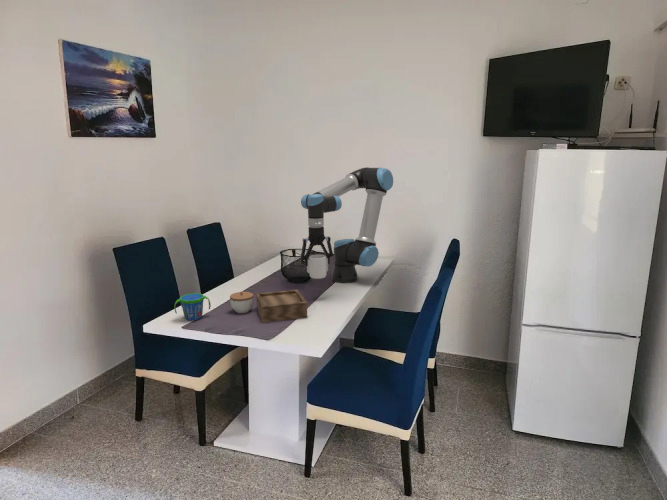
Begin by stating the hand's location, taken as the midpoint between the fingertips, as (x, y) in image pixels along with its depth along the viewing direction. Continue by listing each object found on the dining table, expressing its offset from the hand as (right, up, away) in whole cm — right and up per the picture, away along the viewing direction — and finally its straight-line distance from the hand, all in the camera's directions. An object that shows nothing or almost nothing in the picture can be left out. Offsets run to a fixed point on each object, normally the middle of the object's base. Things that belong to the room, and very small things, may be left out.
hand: (317, 271), depth 239 cm
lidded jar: (-35, -18, -14) cm, 41 cm away
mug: (+1, -2, +1) cm, 3 cm away
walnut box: (-16, -18, -17) cm, 30 cm away
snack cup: (-55, -20, -22) cm, 63 cm away
